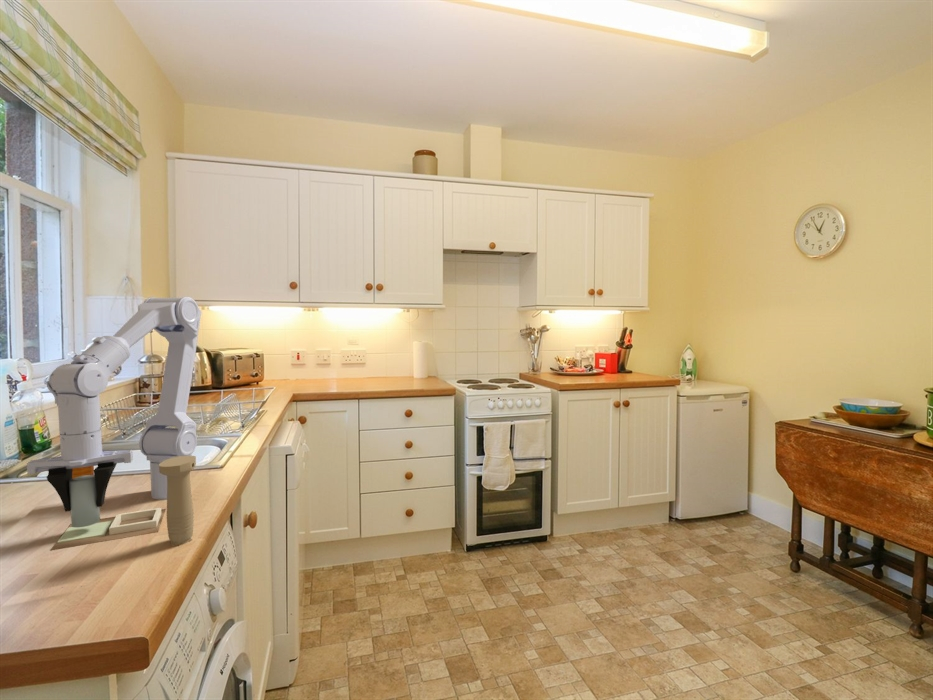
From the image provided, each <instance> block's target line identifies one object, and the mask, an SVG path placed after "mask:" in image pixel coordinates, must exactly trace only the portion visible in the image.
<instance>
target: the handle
mask: <svg viewBox="0 0 933 700" xmlns="http://www.w3.org/2000/svg"><path fill="white" fill-rule="evenodd" d="M196 465H197V457H196V455H192V456H178V457H174V458H170V459H167V460H165V461H163V462H161V463H160V464H159V472H160V473H161V474H163V475H166V476H167V499H166V526H167V535H168V539H169V542H170V546H183V545H184V544H188V543H190V542H192V541H193V538H192V536H193V535H194V525H195V524H194V523H195V522H194V520H195V519H194V506H193V498H192V496H193V495H192V486H191V476H190V475H191V472H192V471H193V470H194V469H195V468H196Z"/></svg>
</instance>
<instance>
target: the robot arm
mask: <svg viewBox="0 0 933 700" xmlns="http://www.w3.org/2000/svg"><path fill="white" fill-rule="evenodd" d="M201 317H202V310H201V309H200V307H199V305H198V303H197V302H196V300H195V299H194V298H192V297H190V296H181V297H154V296H152V297H148V298H146V299H145V300H144V301H143V302H142V303H140V304H138V306H137V312H135V314H134V315H132V316H131V317H130V318H129V319H128V320H127V322H126V323H125V324H124V325H123V326H122V327H121V328H120V329H118V330H117V332H116V333H114V334H113V335H104V336H97V337H95V338H94V339H93V340H92V343H93V344H91V345H90V346H89V347H87V348H86V349H85V350H84V351H83V352H82V353H81V354H76V356H74V357H73V360H72V361H71V362H70V363H66V364H61V365H59V366H57V367H55V369H54V370H53V371H52V372H51V373H50V376H49V379H48V380H47V381H46V387H47V389H48V391H49V392H50V393H51V394H52V395H53V397H54V403H55V404H56V406H57V413H58V414H57V415H58V430H59V431H58V432H59V444H60V445H59V446H60V447H59V448H60V455H59V456H54V457H46V458H41V459H40V458H39V459H33V460H30V461H28V462H26V473H27V475H33V474H37V473H41V472H42V473H44V472H47V475H46V480H47V482H48V483H49V484H50V485H51V486H52V487H53V488H54V490H55V491H56V494H57V495H58V496H59V498H60V499H61V500H60V501H61V503H62V505H63V507H64V508H63V509H64V511H65V512H66V513H67V512H71V508H70V492H69V480H70V479H72V472H73V468H79V467H88V466H94V475H95V481H96V490H97V493H96V504H97V507H99V508H101V507H103V506H104V504H105V500H106V499H105V498H106V492H107V489H108V485H109V482H110V480H111V478H112V475H113V473H114V470H115V469H116V466H117V464H122V463H124V464H129V463H130V464H131V463H132V462H133V460H134V451H133V449H127V450H104V451H103V443H102V442H103V441H102V439H103V438H102V421H101V420H102V419H101V402H100V401H101V400H100V394H102V393H104V392H105V391H106V389H107V386H108V383H109V379H110V378H111V377H112V376H111V375H112V374H113V373H114V372H115V371H116V370H117V369H118V368H119V367H120V366H121V365H122V364H124V362H126V361H127V360H128V359H129V358H130V356H131V350H130V348H132V347H134V346H135V344H137V343H138V342H139V341H140V340H142V339H143V338H145V337H146V336H147V335H148V334H150V333H151V332H152V331H153V330H154V331H155V332H156V333H158V334H159V335H160V336H161V337H163V338H165V339H166V341H167V342H168V349H167V353H166V354H167V355H166V360H165V366H164V370H163V371H164V373H163V379H162V384H161V385H162V386H161V391H160V397H159V402H158V403H159V404H158V410H157V413H156V414H154V415H153V416H152V417H151V418H149V419H148V420H147V421H146V422H145V428H144V430H143V432H142V434H141V436H140V438H139V441H138V442H139V450H140V453H142V455H144V456H145V457H146V461H149V470H150V490H151V491H150V492H151V493H150V494H151V495H150V496H151V498H152V499H155V500H167V476H166V475H163V474H161V473H160V472H159V464H160V463H161V462H163V461H165V460H167V459H170V458H174V457H178V456H193V453H194V452H195V450H196V448H197V444H198V438H197V422H195V421H194V419H192V418H191V417H189V416H188V415H187V414H188V412H187V411H188V407H189V406H188V404H189V398H190V391H191V384H192V378H193V373H194V372H193V371H194V365H195V360H196V359H195V358H196V352H197V345H198V336H199V331H200V324H201V319H202V318H201ZM55 404H54V405H55ZM173 427H175V428H173ZM95 466H96V467H95Z"/></svg>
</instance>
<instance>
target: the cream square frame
mask: <svg viewBox="0 0 933 700" xmlns="http://www.w3.org/2000/svg"><path fill="white" fill-rule="evenodd" d="M161 509H162V507H155V508H149V509H143V510H137V511H131V512H124V513H118V514H116V517H115V516H114V517H115V519H114V521H113V523H112V524H111V526H110V528H109V535H112V534H118V533H124V532H130V531H136V530H142V529H148V528H154V527H157V525H158V522H159V519H160V516H161ZM151 516H154V517H153V520H149V521H143V522H137V523H131V524H124V525H120V523H121V521H125V520H132V519H138V518H144V517H151Z"/></svg>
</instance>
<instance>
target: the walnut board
mask: <svg viewBox="0 0 933 700" xmlns="http://www.w3.org/2000/svg"><path fill="white" fill-rule="evenodd" d="M166 511H167V508H161V516H160V519H159V522H158V525H157V527H154V528H148V529H142V530H136V531H130V532H124V533H118V534H112V535H109V529H108V530H107V532H106V534H105V535H103V536H97V537H91V538H86V539H80V540H74V541H68V542H62V543H57V542H58V540H59V539H60V538H61V537H62V535H63V534H64V533H65V531H66V530H67V529H68V528H69V527H72V526H71V523H70V524H69V526H68V527H67V528H66V529H65V531H64V532H63V533H62V535H61V536H60V537H59V538H58V540H57V541H56V542H55V543H54V544H53V546H52V547H51V548H50V550H49V551H51V552H52V551H57V550H62V549H63V550H64V549H68V548H73V547H79V546H85V545H91V544H95V543H103V542H108V541H109V542H110V541H115V540H119V539H126V538H132V537H137V536H142V535H143V536H144V535H149V534H155V533H159V531H160V528H161V525H162V521H163V518H164V515H165V512H166ZM116 516H117V515H116ZM116 516H110V517H103V518H100V521H99V522H97V523H101V522H107V521H112V523H113V521H114V519H115V517H116ZM153 517H154V516H151V517H144V518H138V519H132V520H125V521H121V523H120V525H124V524H131V523H137V522H143V521H149V520H153ZM112 523H111V524H112ZM110 526H111V525H110ZM109 528H110V527H109Z"/></svg>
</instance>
